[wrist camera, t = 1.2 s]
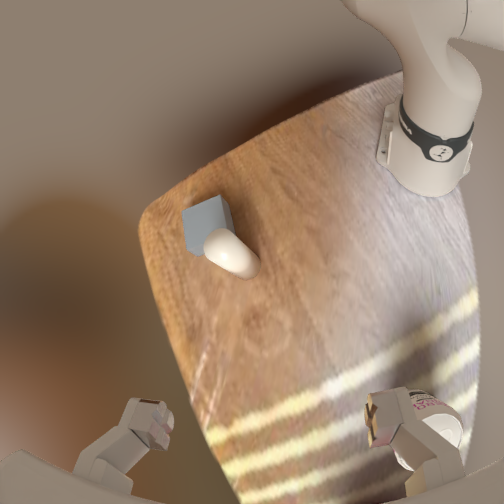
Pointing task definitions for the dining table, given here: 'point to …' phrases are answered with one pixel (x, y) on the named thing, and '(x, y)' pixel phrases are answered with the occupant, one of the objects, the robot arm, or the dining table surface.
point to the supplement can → (435, 418)
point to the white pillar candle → (231, 254)
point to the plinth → (205, 222)
